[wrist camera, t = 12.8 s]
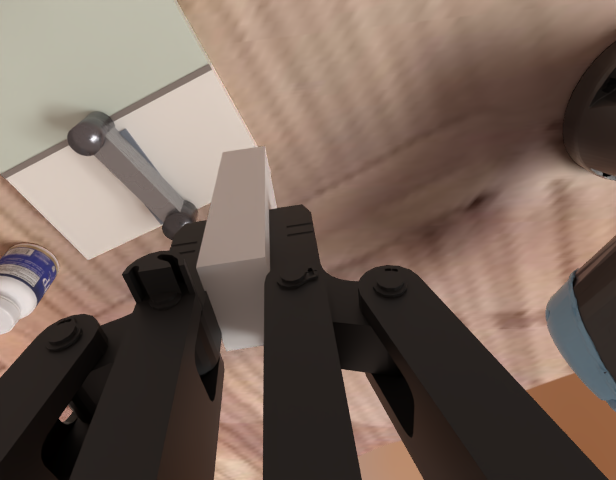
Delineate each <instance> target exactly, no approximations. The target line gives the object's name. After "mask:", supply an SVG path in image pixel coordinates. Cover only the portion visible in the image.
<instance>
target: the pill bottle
mask: <svg viewBox="0 0 616 480" xmlns="http://www.w3.org/2000/svg"><path fill="white" fill-rule="evenodd" d="M58 272H59V263H58V261H57V259H56V257H55V256H54V255H53V254H52V253H51V252H50V251H48V250H47V249H45V248H43V247H41V246H39V245H35V244H29V243H23V244H17V245H15V246H13V247H11V248H10V249H9V250H8V251H7V252H6V253H5V254H4V255H3V257H2V258H1V259H0V334H5V333H7V332H9V331H10V330H12V328H13V327H14V326H15V324H16V323H17V322H18V321H19V319H21V318H24V317H26V316H28V315H29V314H30V313H31V312H32V311H33V310H34V309H35V308H36V306H37V304H38V303H39V301H40V300H41V298H42V297H43V295H44V294H45V292H46V291H47V289H48V288H49V286H50V285H51V283H52V282H53V280H54V279H55V277H56V276H57V274H58Z"/></svg>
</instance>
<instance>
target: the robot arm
mask: <svg viewBox="0 0 616 480" xmlns="http://www.w3.org/2000/svg"><path fill="white" fill-rule="evenodd" d="M563 138H564V144H565V147H566V150H567V152H568V154H569V155H570V157H571V158H572V159H573V160H574V161H575V162H576V163H577V164H578V165H580V166H581V167H583V168H585V169H586V170H588V171H589V172H591V173H593V174H595V175H597V176H599V177H602V178H605V179H610V180H616V42H615V43H613V44H612V45H611V46H610V47H609V48H607V49H606V50H605V51H604V52H603V53H602V54H601V55H600V56H599V57H598V58H597V59H596V60H595V61H594V63H593V64H592V65H591V66H590V67H589V69H588V70H587V71H586V72H585V74H584V75H583V77H582V78H581V80H580V81H579V83H578V85H577V86H576V88H575V90H574V92H573V94H572V96H571V98H570V101H569V103H568V106H567V109H566V113H565V117H564V123H563ZM122 276H123V278H124V280H125V282H126V283H127V285H128V287H129V289H130V291H131V293H132V295H133V297H134V299H135V301H136V305H135V308H134V311H133V313H131V314H129V315H127V316H125V317H122V318H120V319H117V320H114V321H112V322H109V323H106V324H104V325H101V326H100V324H99V323H98V321H97V320H96V319H95V318H94V317H93V316H91V315H86V314H80V315H72V316H69V317H67V318H64V319H61V320H59V321H57V322H56V323H54V324H52V325H50V326H49V327H47V328H46V329H45V330H44V331H43V332H42V333H41V334H39V335H38V336H37V337H36V338H35V340H34V341H33V342H32V343H31V344H30V345H29V346H28V347H27V348H26V350H25V351H24V352H23V353H22V354H21V355H20V356H19V357H18V359H17V360H16V361H15V362H14V363H13V364H12V365H11V366H10V368H9V369H8V370H7V371H6V372H5V373H4V374H3V375H2V376H1V378H0V480H214V471H215V461H216V451H217V441H218V430H219V420H220V410H221V400H222V389H223V379H224V363H223V360H222V357H221V354H220V346H221V338H222V341H223V343H224V346H225V349H226V351H231V350H238V349H244V348H250V347H257V346H263V345H264V395H263V480H362V478H361V473H360V468H359V462H358V457H357V451H356V446H355V441H354V435H353V430H352V425H351V419H350V414H349V409H348V403H347V398H346V393H345V387H344V382H343V377H342V371H341V369H345V370H352V371H360V372H365V374H366V377H367V378H368V380H369V382H370V384H371V386H372V387H373V389H374V391H375V393H376V395H377V396H378V398H379V400H380V402H381V404H382V405H383V407H384V409H385V411H386V412H387V414H388V416H389V418H390V420H391V421H392V423H393V425H394V427H395V429H396V430H397V432H398V434H399V436H400V438H401V439H402V441H403V443H404V445H405V447H406V448H407V450H408V452H409V454H410V455H411V457H412V459H413V461H414V463H415V464H416V466H417V468H418V470H419V472H420V473H421V475H422V477H423V479H424V480H608V478H607V477H606V476H605V475H604V474H603V473H602V472H601V471H600V470H599V469H598V468H597V467H596V466H595V464H594V463H593V462H592V461H591V460H590V459H589V458H588V457H587V456H586V455H585V454H584V453H583V452H582V451H581V449H580V448H579V447H578V446H577V445H576V444H575V443H574V442H573V441H572V440H571V439H570V438H569V437H568V436H567V434H566V433H565V432H564V431H562V429H561V428H560V427H559V426H558V425H557V424H556V423H555V422H554V421H553V419H551V417H550V416H549V415H548V414H547V413H546V412H545V411H544V410H543V409H542V408H541V407H540V406H539V405H538V403H537V402H536V401H535V400H534V399H533V398H532V397H531V396H530V395H529V394H528V393H527V392H526V391H525V389H524V388H523V387H522V386H521V385H520V384H519V383H518V382H517V381H516V380H515V379H514V378H513V377H512V376H511V374H510V373H509V372H508V371H507V370H506V369H505V368H504V367H503V366H502V365H501V364H500V363H499V362H498V361H497V359H496V358H495V357H494V356H493V355H492V354H491V353H490V352H489V351H488V350H487V349H486V348H485V347H484V346H483V344H482V343H481V342H480V341H479V340H478V339H477V338H476V337H475V336H474V335H473V334H472V333H471V332H470V331H469V329H468V328H467V327H466V326H465V325H464V324H463V323H462V322H461V321H460V320H459V319H458V318H457V317H456V316H455V314H454V313H453V312H452V311H451V310H450V309H449V308H448V307H447V306H446V305H445V304H444V303H443V302H442V301H441V299H440V298H439V297H438V296H437V295H436V294H435V293H434V292H433V291H432V290H431V289H430V288H429V287H428V286H427V284H426V283H425V282H424V281H423V280H422V279H421V278H420V277H419V276H418V275H417V274H415V273H414V272H413V271H411V270H409V269H406V268H403V267H400V266H391V265H386V266H380V267H375V268H373V269H371V270H369V271H367V272H366V273H365V274H364V275H363V276H362V277H361V278H360V280H359V282H358V281H347V280H341V279H338V278H335V277H332V276H331V275H329V274H327V273H326V272H325V271H324V270H323V268H322V266H321V264H320V259H319V254H318V249H317V243H316V238H315V233H314V227H313V222H312V217H311V212H310V211H309V210H308V209H307V208H305V207H304V206H303V205H295V206H289V207H282V208H277V205H276V200H275V195H274V190H273V185H272V180H271V174H270V169H269V164H268V159H267V154H266V149H265V146H260V147H253V148H247V149H240V150H234V151H227V152H223V153H222V157H221V161H220V166H219V170H218V175H217V179H216V183H215V188H214V192H213V196H212V201H211V205H210V209H209V214H208V218H207V220H206V221H199V222H193V223H186V224H184V225H183V226H182V227H181V228H180V230H179V231H178V232H177V233H176V234H175V236H174V238H173V241H172V244H171V247H170V250H169V251H159V252H155V253H151V254H148V255H146V256H144V257H141V258H139V259H137V260H136V261H135V262H133V263H132V264H131V265H129V266H128V267H127V268H126V270H125V271H124V272H123V274H122ZM546 321H547V326H548V330H549V332H550V335H551V337H552V339H553V341H554V343H555V345H556V346H557V348H558V350H559V351H560V353H561V355H562V356H563V357H564V359H565V360H566V362H567V363H568V364H569V366H570V367H571V368H572V370H573V371H574V372H575V373H576V374H577V376H578V377H579V378H580V379H581V380H582V381H583V383H584V384H585V385H586V386H587V387H588V388H589V389H590V390H591V391H592V392H593V393H594V394H595V395H596V396H597V397H598V398H600V399H601V400H606V402H607V403H608V404H609V406H610V407H611V408H612V409H613V410H614V411H615V412H616V235H615V236H614V237H613V238H612V239H611V240H610V241H609V242H608V243H607V244H606V245H605V246H604V247H603V248H602V249H600V250H599V251H598V252H597V253H596V254H595V255H594V256H593V257H592V258H591V259H590V260H589V261H588V262H586V263H585V264H584V265H583V266H582V267H581V268H580V269H576V270H575V271H573V272H572V273H571V275H570V277H569V279H568V280H567V282H566V283H565V284H564V285H563V286H562V287H561V288H560V289H559V290H558V291H557V292H556V293H555V294H554V295H553V296H552V297H551V299H550V300H549V302H548V304H547V306H546ZM67 405H68V406H69V407H70V408H71V409H72V411H73V412H72V414H71V415H70V416H69V417H68V419H67V420H66V421H65V422H61V421H60V420H59V417H60V416H61V414H62V413H63V411H64V410H65V408H66V407H67Z"/></svg>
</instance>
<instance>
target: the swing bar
mask: <svg viewBox="0 0 616 480" xmlns="http://www.w3.org/2000/svg"><path fill="white" fill-rule="evenodd" d="M67 141H68V144H69V146H70V147H71V148H72V149H73V150H74V151H75V152H76V153H78V154H80V155H83V156H92V155H94V156H95V157H96V158H97V159H98V160H99V161H100V162H101V163H102V164H103V165H104V166H105V167H107V168H108V169H109V170H110V171H111V172H112V173H113V174H114V175H115V176H116V177H117V178H118V179H119V180H120V181H121V182H122V183H123V184H124V185H125V186H126V187H127V188H128V189H129V190H130V191H131V192H132V193H133V194H135V195H136V196H137V197H138V198H139V199H140V200H141V201H142V202H143V203H144V204H145V205H146V206H147V207H148V208H149V209H150V210H151V211H152V212H153V213H154V214H155V215H156V216H157V217H158V218H159V219H160V220H161V221H163V222H164V223H163V226H162V230H163V233H164V234H165V236H166V237H168V238H169V239H171V240H173V238H174V236H175V234H176V233H177V232H178V231H179V230H180V228H181V227H182V226H183V225H184V224H186V223H193V222H196V220H197V216H198V211H197V208H196V207H195V205H194V204H192V203H191V202H189V201H187V200H184V199H183V198H182V197H181V196H180V195H179V194H178V193H177V192H176V191H175V190H174V189H173V188H172V187H171V186H170V185H169V183H168V182H167V181H166V180H165V179H164V178H163V177H162V176H161V175H160V174H159V173H158V172H157V171H156V170H155V169H154V168H153V167H152V166H151V165H150V164H149V163H148V162H147V160H146V159H145V158H144V157H143V156H142V155H141V154H140V153H139V152H138V151H137V150H136V149H135V148H134V147H133V146H132V145H131V144H130V143H129V142H128V141H127V140H126V139H125V138H124V136H123V135H122V134H121V133H120V132H119V131H118V130H117V129H116V128H115V124H114V122H113V120H112V119H111V118H110V117H109V116H108V115H107V114H105V113H103V112H98V111H96V112H92V113H90V114H88V115H87V116H86V117H85V118H84V119H83V120H81V121H80V122H79V123H78V124H77V125H76V126H74V127H73V128H72V129H71V130H70V131H69V132H68V135H67Z"/></svg>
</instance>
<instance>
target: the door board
mask: <svg viewBox="0 0 616 480" xmlns="http://www.w3.org/2000/svg"><path fill="white" fill-rule="evenodd" d="M96 111H98V112H103V113H105V114H107V115H108V116H109V117H110V118H111V119H112V120H113V122H114V124H115V128H116V129H117V130H118V131H119V132H120V133H121V134H122V135H123V136H124V138H125V139H126V140H127V141H128V142H129V143H130V144H131V145H132V146H133V147H134V148H135V149H136V150H137V151H138V152H139V153H140V154H141V155H142V156H143V157H144V158H145V159H146V160H147V162H148V163H149V164H150V165H151V166H152V167H153V168H154V169H155V170H156V171H157V172H158V173H159V174H160V175H161V176H162V177H163V178H164V179H165V180H166V181H167V182H168V183H169V185H170V186H171V187H172V188H173V189H174V190H175V191H176V192H177V193H178V194H179V195H180V196H181V197H182V198H183V199H184V200H187V201H189V202H191V203H192V204H194V205H195V207H196V208H197V209H199V208H201V207H203V206H205V205H207V204H210V203H211V201H212V196H213V192H214V188H215V183H216V179H217V175H218V170H219V166H220V161H221V157H222V153H223V152H227V151H234V150H240V149H247V148H253V147H258V146H257V144H256V142H255V140H254V138H253V137H252V135H251V133H250V131H249V129H248V128H247V126H246V124H245V122H244V120H243V119H242V117H241V115H240V113H239V111H238V110H237V108H236V106H235V104H234V103H233V101H232V99H231V97H230V95H229V94H228V92H227V90H226V88H225V86H224V85H223V83H222V81H221V79H220V77H219V76H218V74H217V72H216V70H215V68H214V67H213V65H212V63H211V61H210V59H209V58H208V56H207V54H206V52H205V51H204V49H203V47H202V45H201V43H200V42H199V40H198V38H197V36H196V34H195V33H194V31H193V29H192V27H191V25H190V24H189V22H188V20H187V18H186V16H185V15H184V13H183V11H182V9H181V8H180V6H179V4H178V2H177V0H0V175H1V176H2V177H3V178H4V179H7V180H8V181H9V182H10V183H11V184H12V185H13V186H14V187H15V188H16V189H17V190H18V191H19V192H20V193H21V194H22V195H23V196H24V197H25V198H26V199H27V200H28V201H29V202H30V203H31V204H32V205H33V206H34V207H35V208H36V209H37V210H38V211H39V212H40V213H41V214H42V215H43V216H44V217H45V218H46V219H47V220H48V221H49V222H50V223H51V224H52V225H53V226H54V227H55V228H56V229H57V230H58V231H59V232H60V233H61V234H62V235H63V236H64V237H65V238H66V239H67V240H68V241H69V242H70V243H71V244H72V245H73V246H74V247H75V248H76V249H77V250H78V251H79V252H80V253H81V254H82V255H83V256H84V257H85V258H86V259H87V260H90V259H92V258H94V257H96V256H98V255H100V254H102V253H105V252H107V251H109V250H111V249H113V248H115V247H117V246H120V245H122V244H124V243H126V242H128V241H130V240H132V239H135V238H137V237H139V236H141V235H143V234H145V233H147V232H150V231H152V230H154V229H156V228H158V227H160V226H162V225H163V223H164V222H163V221H161V220H160V219H159V218H158V217H157V216H156V215H155V214H154V213H153V212H152V211H151V210H150V209H149V208H148V207H147V206H146V205H145V204H144V203H143V202H142V201H141V200H140V199H139V198H138V197H137V196H136V195H135V194H133V193H132V192H131V191H130V190H129V189H128V188H127V187H126V186H125V185H124V184H123V183H122V182H121V181H120V180H119V179H118V178H117V177H116V176H115V175H114V174H113V173H112V172H111V171H110V170H109V169H108V168H107V167H105V166H104V165H103V164H102V163H101V162H100V161H99V160H98V159H97V158H96V157H95V156H94V155H92V156H83V155H80V154H78V153H76V152H75V151H74V150H73V149H72V148H71V147H70V146H69V144H68V141H67V135H68V132H69V131H70V130H71V129H72V128H73V127H74V126H76V125H77V124H78V123H79V122H80V121H81V120H83V119H84V118H85V117H86V116H87V115H88V114H90V113H92V112H96ZM269 169H270V167H269ZM270 174H271V169H270Z"/></svg>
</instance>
